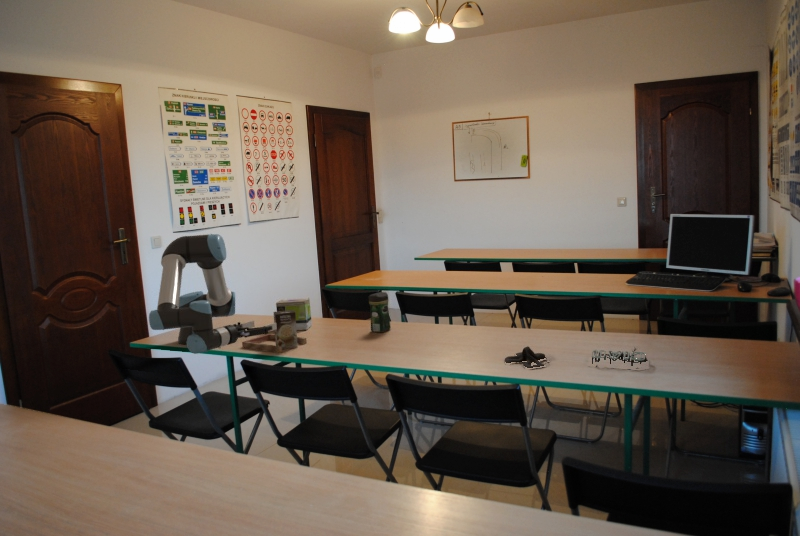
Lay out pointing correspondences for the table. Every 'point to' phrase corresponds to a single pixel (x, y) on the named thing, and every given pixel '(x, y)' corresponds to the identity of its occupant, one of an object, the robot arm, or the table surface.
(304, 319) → the tea box
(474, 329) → the table surface
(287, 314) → the coffee box
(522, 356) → the cloth
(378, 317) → the coffee jar
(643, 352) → the neon sign
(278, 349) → the brown wooden flat frame
